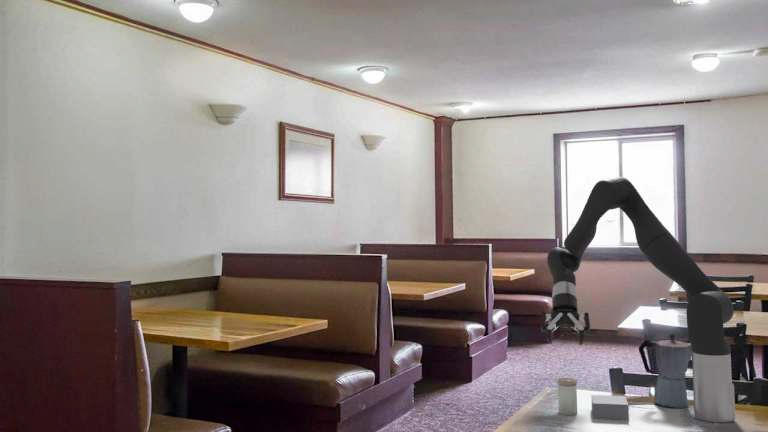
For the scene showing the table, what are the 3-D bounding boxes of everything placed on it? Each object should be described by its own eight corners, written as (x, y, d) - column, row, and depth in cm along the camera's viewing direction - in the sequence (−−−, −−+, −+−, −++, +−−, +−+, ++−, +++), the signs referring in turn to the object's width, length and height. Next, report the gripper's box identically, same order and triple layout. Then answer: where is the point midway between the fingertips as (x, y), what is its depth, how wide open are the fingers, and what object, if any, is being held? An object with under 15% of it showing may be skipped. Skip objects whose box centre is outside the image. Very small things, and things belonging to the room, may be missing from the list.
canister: (577, 410, 185) (576, 378, 185) (577, 415, 180) (576, 382, 180) (558, 409, 186) (557, 377, 187) (558, 414, 181) (557, 381, 182)
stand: (625, 410, 183) (625, 396, 184) (628, 419, 175) (628, 404, 175) (591, 409, 186) (591, 394, 186) (593, 418, 177) (592, 403, 177)
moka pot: (703, 409, 182) (700, 337, 183) (644, 408, 185) (641, 336, 186) (694, 400, 192) (691, 331, 192) (638, 399, 195) (635, 331, 195)
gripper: (540, 291, 206) (540, 334, 195) (588, 292, 202) (590, 336, 191) (541, 306, 211) (541, 349, 200) (588, 307, 207) (590, 351, 196)
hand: (565, 342), depth 195 cm, fingers open, 8 cm apart
